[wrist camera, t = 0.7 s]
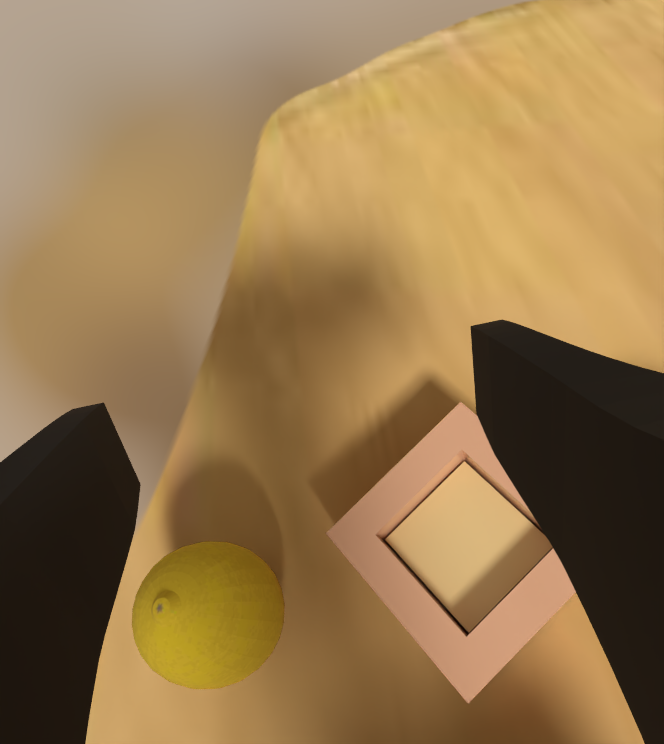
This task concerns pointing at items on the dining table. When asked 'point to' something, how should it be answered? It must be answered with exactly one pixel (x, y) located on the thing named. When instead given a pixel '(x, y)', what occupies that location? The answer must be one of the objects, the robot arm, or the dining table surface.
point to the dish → (412, 594)
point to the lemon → (208, 615)
